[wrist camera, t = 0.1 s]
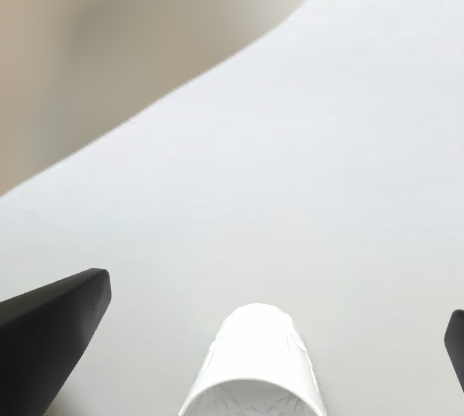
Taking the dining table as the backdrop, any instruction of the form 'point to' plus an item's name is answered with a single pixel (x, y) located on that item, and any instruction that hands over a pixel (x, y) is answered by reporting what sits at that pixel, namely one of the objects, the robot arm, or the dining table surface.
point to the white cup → (256, 369)
